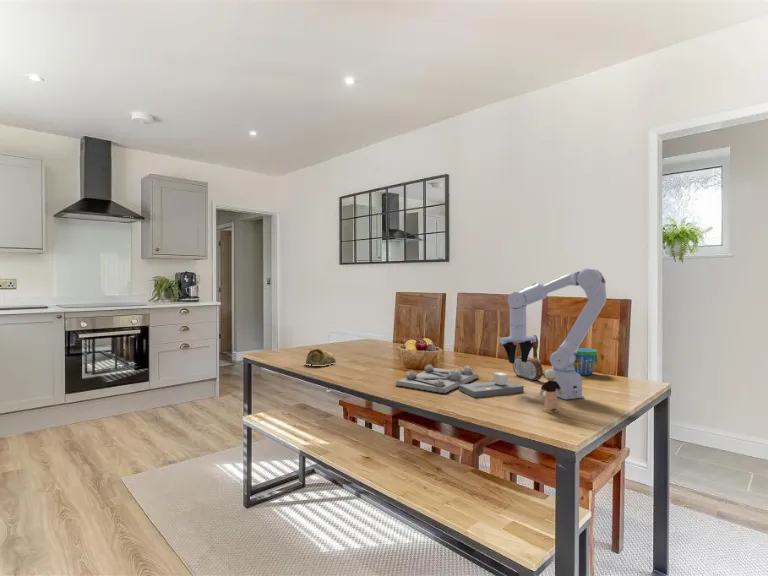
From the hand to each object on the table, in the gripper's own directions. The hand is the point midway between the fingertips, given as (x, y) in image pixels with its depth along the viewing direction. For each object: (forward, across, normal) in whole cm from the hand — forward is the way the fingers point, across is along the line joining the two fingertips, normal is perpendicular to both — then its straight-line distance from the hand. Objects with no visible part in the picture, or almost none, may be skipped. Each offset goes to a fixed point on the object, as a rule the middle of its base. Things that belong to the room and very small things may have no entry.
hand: (517, 362), depth 154 cm
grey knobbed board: (+10, +22, -19) cm, 31 cm away
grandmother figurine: (+10, +8, +26) cm, 29 cm away
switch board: (+9, +12, 0) cm, 15 cm away
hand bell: (+10, -24, -19) cm, 32 cm away
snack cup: (+10, -40, -10) cm, 43 cm away
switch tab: (+7, +7, 0) cm, 10 cm away
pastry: (+10, +58, -70) cm, 91 cm away
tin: (+10, -14, -12) cm, 21 cm away
